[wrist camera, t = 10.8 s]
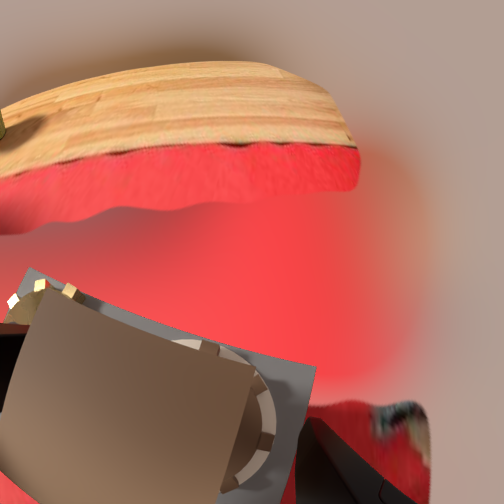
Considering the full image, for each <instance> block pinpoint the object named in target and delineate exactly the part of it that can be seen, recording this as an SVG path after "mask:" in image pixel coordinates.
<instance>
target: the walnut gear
mask: <svg viewBox="0 0 504 504" xmlns="http://www.w3.org/2000/svg"><path fill="white" fill-rule="evenodd" d="M219 353H220V345H219V344H216V343H212V342H209V341H206V340H203V339H202V342H201V345H200V348H199V350H197V349H194V348H191V347H188V346H185V345H182V344H179V343H176V342H173V341H170V340H167V339H164V338H162V337H159V336H156V335H154V334H151V333H148V332H146V331H143V330H140V329H138V328H135V327H133V326H130V325H128V324H125V323H123V322H120V321H118V320H116V319H113V318H111V317H108V316H106V315H104V314H102V313H99V312H97V311H95V310H92V309H90V308H88V307H86V306H84V305H82V304H79V303H77V302H75V301H73V300H71V299H69V298H67V297H65V296H63V295H61V294H59V293H57V292H55V291H53V290H51V289H49V288H47V290H46V292H45V294H44V296H43V298H42V300H41V302H40V304H39V306H38V309H37V311H36V313H35V315H34V318H33V320H32V322H31V325H30V327H29V330H28V332H27V335H26V337H25V340H24V342H23V345H22V348H21V350H20V353H19V356H18V359H17V362H16V365H15V368H14V371H13V374H12V377H11V380H10V384H9V387H8V391H7V394H6V398H5V402H4V406H3V410H2V414H1V419H0V471H1V472H2V473H3V474H4V475H6V476H7V477H8V478H9V479H10V480H11V481H12V482H13V483H15V484H16V485H17V486H18V487H19V488H21V489H22V490H23V491H24V492H25V493H27V494H28V495H29V496H31V497H32V498H33V499H34V500H36V501H37V502H38V503H40V504H215V503H216V500H217V497H218V494H219V490H220V492H221V493H222V494H225V493H227V492H230V491H232V490H234V489H236V488H238V487H239V482H238V480H237V478H236V477H235V475H236V474H237V473H238V472H240V471H241V470H242V469H243V468H244V467H245V466H246V465H247V464H248V463H249V461H250V460H251V459H252V457H253V455H254V454H255V452H256V450H262V451H267V452H271V448H272V445H273V441H274V438H275V435H273V434H271V433H267V432H263V431H262V414H261V409H260V405H259V402H258V400H257V397H256V396H257V395H259V394H261V393H262V392H264V391H266V390H268V389H267V387H266V385H265V384H264V382H263V381H262V379H261V377H260V376H259V374H258V375H256V376H254V373H255V369H256V366H252V365H248V364H244V363H241V362H237V361H233V360H230V359H226V358H223V357H220V356H219Z"/></svg>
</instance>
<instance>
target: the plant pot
mask: <svg viewBox="0 0 504 504" xmlns="http://www.w3.org/2000/svg"><path fill="white" fill-rule="evenodd" d="M5 132H6V129H5V126H4V122H3V118H2V114H1V110H0V139H1V138H2V137H3V136H4V134H5Z"/></svg>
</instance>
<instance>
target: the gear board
mask: <svg viewBox="0 0 504 504" xmlns="http://www.w3.org/2000/svg"><path fill="white" fill-rule="evenodd" d="M42 279H46V280H47V281H48V282H49V283H50V284H51V285H53V286H54V287H55V290H58V291H61V292H62V291H63V289H64V288H65V286H66V285H65V284H63V283H61V282H59V281H57V280H55V279H53V278H51V277H49V276H46V275H44V274H42V273H40V272H38V271H36V270H34V269H33V268H31V267H29V268H28V270H27V272H26V274H25V276H24V278H23V280H22V282H21V284H20V286H19V288H18V290H17V292H16V294H17V295H18V296H19V297H21V298H22V297H23V296H25V295H26V294H28V293H30V292H32V291H34V289H35V281H37V280H42ZM80 292H81V291H80ZM81 293H82V294H83V295H84V296H85V297H86V299H85V300H84V302H83V304H82V305H84V306H86V307H88V308H90V309H92V310H95V311H97V312H99V313H102V314H104V315H106V316H108V317H111V318H113V319H116V320H118V321H120V322H123V323H125V324H128V325H130V326H133V327H135V328H138V329H140V330H143V331H146V332H148V333H151V334H154V335H156V336H159V337H162V338H164V339H167V340H170V341H173V342H176V343H179V344H182V345H185V346H188V347H191V348H194V349H197V350H199V348H200V345H201V342H202V339H203V340H206V341H209V342H212V343H216V344H219V345H220V353H219V356H220V357H223V358H226V359H230V360H233V361H237V362H241V363H244V364H248V365H252V366H256V369H255V373H254V376H256V375H258V374H259V376H260V377H261V379H262V381H263V382H264V384H265V385H266V387H267V389H268V390H266V391H264V392H262V393H261V394H259V395H257V396H256V397H257V400H258V402H259V405H260V409H261V414H262V431H263V432H267V433H271V434H273V435H275V438H274V441H273V445H272V448H271V452H267V451H262V450H256V452H255V454H254V455H253V457H252V459H251V460H250V461H249V463H248V464H247V465H246V466H245V467H244V468H243V469H242V470H241V471H240V472H238V473H237V474H236V475H235V477H236V478H237V480H238V482H239V487H238V488H236V489H234V490H232V491H230V492H227V493H225V494H222V493H221V492H220V490H219V494H218V497H217V500H216V503H215V504H280V502H281V499H282V496H283V493H284V490H285V487H286V484H287V480H288V477H289V474H290V471H291V467H292V464H293V461H294V457H295V454H296V450H297V444H298V436H299V433H300V431H301V429H302V427H303V424H304V420H305V416H306V412H307V408H308V404H309V399H310V395H311V391H312V386H313V381H314V377H315V372H316V367H315V366H311V365H306V364H301V363H297V362H292V361H288V360H284V359H279V358H275V357H271V356H267V355H263V354H259V353H255V352H252V351H248V350H244V349H241V348H237V347H233V346H230V345H227V344H223V343H220V342H216V341H213V340H210V339H206V338H203V337H200V336H197V335H194V334H191V333H188V332H184V331H181V330H178V329H176V328H173V327H170V326H167V325H164V324H161V323H158V322H155V321H153V320H150V319H147V318H145V317H142V316H139V315H136V314H134V313H131V312H129V311H126V310H124V309H121V308H119V307H116V306H114V305H111V304H109V303H106V302H104V301H101V300H99V299H97V298H94V297H92V296H90V295H87V294H85V293H83V292H81ZM10 309H11V308H9V310H8V312H9V311H10ZM8 312H7V314H8ZM6 316H7V315H6ZM5 318H6V317H5ZM4 320H5V319H4ZM1 414H2V412H1V413H0V419H1Z"/></svg>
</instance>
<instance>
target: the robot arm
mask: <svg viewBox="0 0 504 504" xmlns="http://www.w3.org/2000/svg"><path fill="white" fill-rule="evenodd" d="M29 327H30V325H22V324H7V323H0V413H1V412H2V410H3V406H4V402H5V398H6V394H7V391H8V387H9V384H10V380H11V377H12V374H13V371H14V368H15V365H16V362H17V359H18V356H19V353H20V350H21V348H22V345H23V342H24V340H25V337H26V335H27V332H28V330H29ZM295 489H296V504H418V503H416V502H415V501H413V500H412V499H410V498H409V497H407V496H406V495H405V494H403V493H402V492H401V491H400V490H398V489H397V488H396V487H395V486H393V485H392V484H391V483H390V482H389V481H388V480H386V479H384V477H382V476H381V475H380V474H379V473H378V472H377V471H376V470H375V469H373V468H372V467H371V466H370V465H369V464H368V463H367V462H366V461H365V460H364V459H362V458H361V457H360V456H359V455H358V454H357V453H356V452H355V451H354V450H353V449H352V448H351V447H350V446H349V445H348V444H347V443H345V442H344V441H343V440H342V439H341V438H340V437H339V436H338V435H337V434H336V433H335V432H334V431H333V430H332V429H331V428H330V427H329V426H328V425H327V424H326V423H325V422H324V421H323V420H322V419H321V418H316V417H308V419H307V420H306V422H305V424H304V426H303V427H302V429H301V431H300V433H299V436H298V444H297V454H296V465H295Z"/></svg>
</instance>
